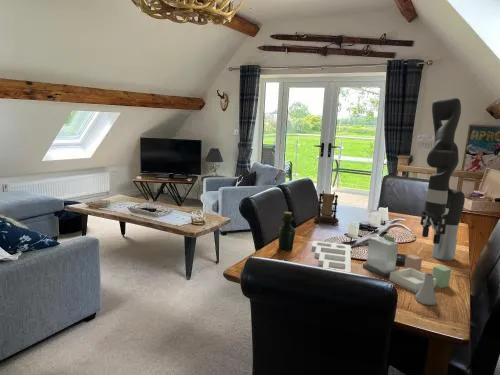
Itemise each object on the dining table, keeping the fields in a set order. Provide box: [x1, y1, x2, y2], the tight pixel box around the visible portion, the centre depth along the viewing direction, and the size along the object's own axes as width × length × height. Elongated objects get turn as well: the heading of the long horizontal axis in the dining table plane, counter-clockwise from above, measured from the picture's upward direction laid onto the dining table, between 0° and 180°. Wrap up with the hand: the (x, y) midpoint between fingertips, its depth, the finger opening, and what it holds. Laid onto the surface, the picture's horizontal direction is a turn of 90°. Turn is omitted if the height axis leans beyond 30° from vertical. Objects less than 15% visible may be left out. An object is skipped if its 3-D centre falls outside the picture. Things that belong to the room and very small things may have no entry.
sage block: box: [431, 264, 452, 289], centre depth 148 cm, size 4×4×7 cm
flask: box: [414, 272, 438, 306], centre depth 133 cm, size 7×7×10 cm
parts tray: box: [389, 268, 437, 294], centre depth 148 cm, size 12×12×4 cm
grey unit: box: [362, 234, 400, 279], centre depth 159 cm, size 10×12×15 cm
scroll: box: [313, 190, 339, 226], centre depth 231 cm, size 15×15×20 cm
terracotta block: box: [403, 254, 423, 272], centre depth 159 cm, size 4×4×7 cm
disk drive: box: [395, 253, 409, 267], centre depth 172 cm, size 10×3×15 cm
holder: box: [311, 240, 352, 274], centre depth 166 cm, size 45×18×3 cm, turn 166°
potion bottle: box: [278, 211, 296, 252], centre depth 179 cm, size 8×8×18 cm
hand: (430, 240), depth 151 cm, fingers open, 8 cm apart
